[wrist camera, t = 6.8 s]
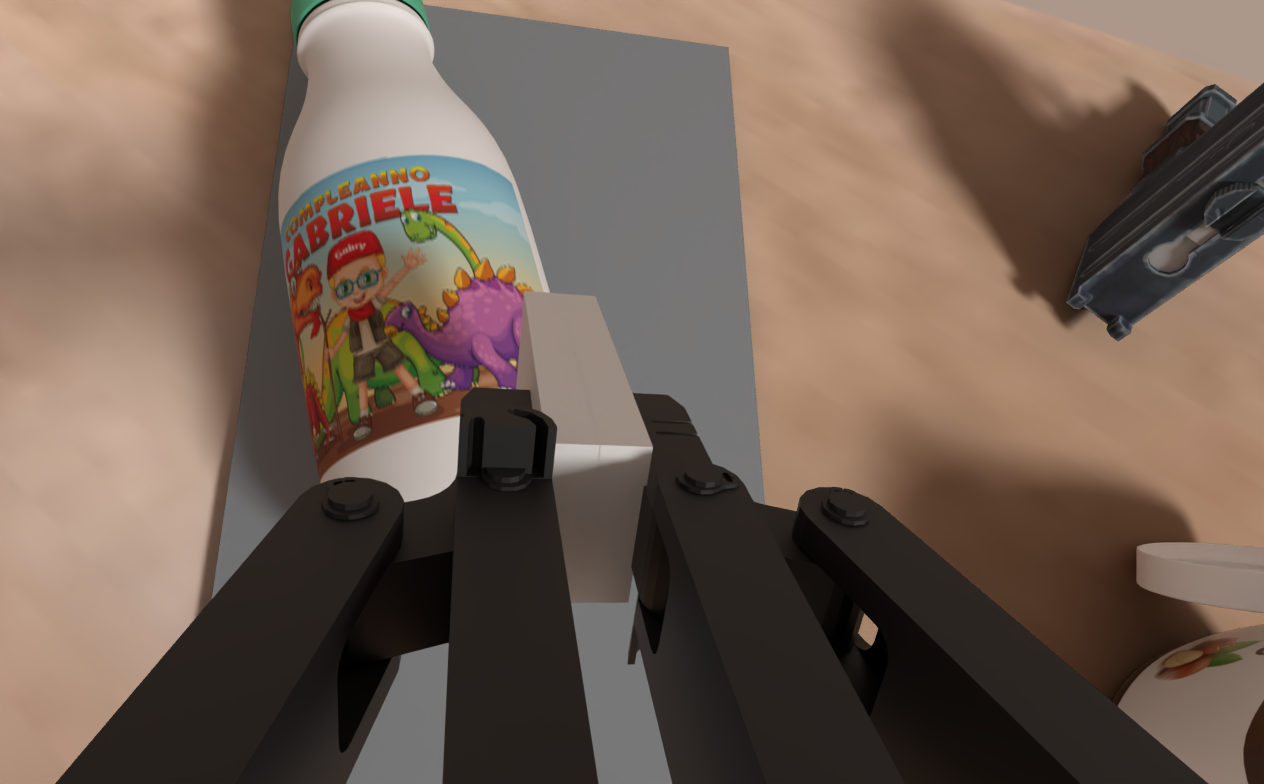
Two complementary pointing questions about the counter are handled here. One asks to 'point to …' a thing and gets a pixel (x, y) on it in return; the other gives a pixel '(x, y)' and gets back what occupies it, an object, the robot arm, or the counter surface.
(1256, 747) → the spread jar
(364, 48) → the milk bottle
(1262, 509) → the counter surface
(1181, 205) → the gun
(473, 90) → the rubber mat
